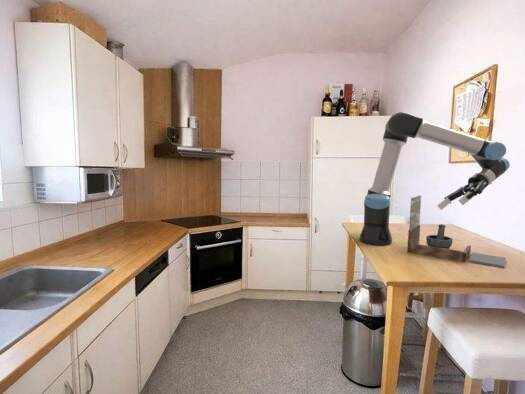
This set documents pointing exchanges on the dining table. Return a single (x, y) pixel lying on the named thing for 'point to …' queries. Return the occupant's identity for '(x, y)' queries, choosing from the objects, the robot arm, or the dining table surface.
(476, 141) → the robot arm
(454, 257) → the brown piece
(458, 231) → the dining table surface
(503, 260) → the slate pad
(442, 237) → the mortar and pestle
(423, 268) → the dining table surface
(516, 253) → the dining table surface
